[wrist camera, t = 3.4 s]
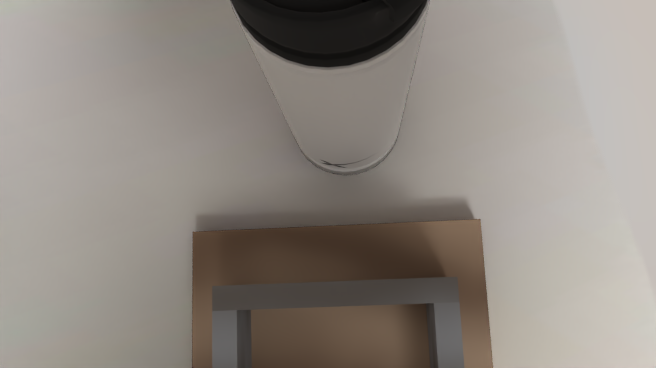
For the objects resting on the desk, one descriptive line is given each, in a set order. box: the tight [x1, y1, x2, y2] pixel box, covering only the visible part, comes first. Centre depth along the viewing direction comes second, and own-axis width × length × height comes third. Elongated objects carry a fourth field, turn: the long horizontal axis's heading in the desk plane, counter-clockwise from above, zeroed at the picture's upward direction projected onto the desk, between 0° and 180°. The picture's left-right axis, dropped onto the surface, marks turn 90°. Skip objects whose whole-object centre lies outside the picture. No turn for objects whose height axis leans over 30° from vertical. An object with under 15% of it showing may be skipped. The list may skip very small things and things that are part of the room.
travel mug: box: [230, 0, 430, 175], centre depth 23 cm, size 6×7×20 cm
